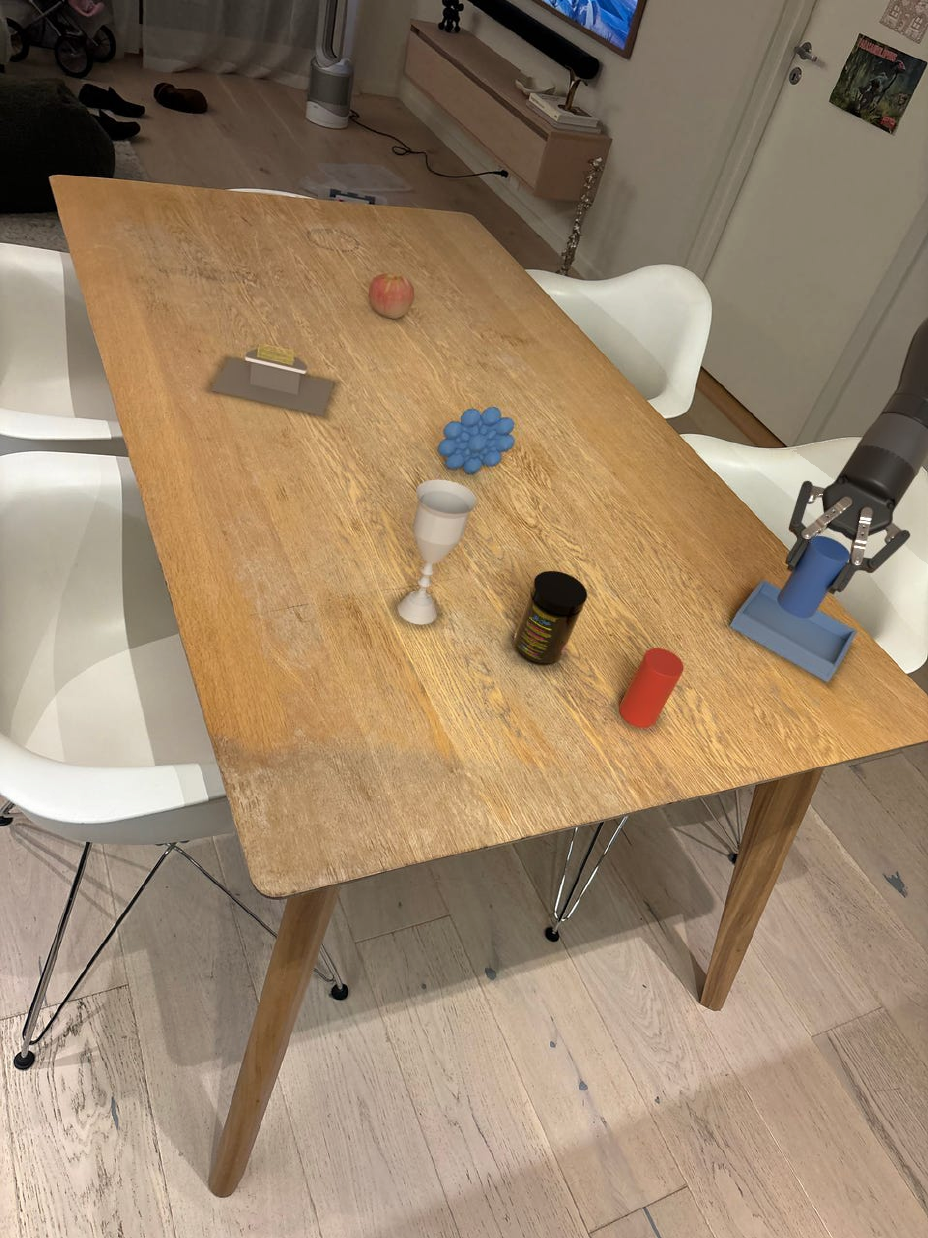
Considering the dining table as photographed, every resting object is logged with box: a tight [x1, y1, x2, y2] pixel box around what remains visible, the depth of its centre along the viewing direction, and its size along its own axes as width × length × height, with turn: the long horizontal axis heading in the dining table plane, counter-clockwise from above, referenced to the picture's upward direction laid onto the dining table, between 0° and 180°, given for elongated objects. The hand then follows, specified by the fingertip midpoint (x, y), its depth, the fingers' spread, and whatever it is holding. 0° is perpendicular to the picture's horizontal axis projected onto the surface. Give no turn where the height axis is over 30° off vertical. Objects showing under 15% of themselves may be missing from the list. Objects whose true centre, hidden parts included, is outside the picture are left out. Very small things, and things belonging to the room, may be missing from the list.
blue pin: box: [777, 535, 850, 618], centre depth 110 cm, size 5×5×9 cm
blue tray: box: [729, 578, 858, 684], centre depth 132 cm, size 15×11×3 cm
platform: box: [210, 343, 335, 417], centre depth 150 cm, size 12×18×7 cm, turn 87°
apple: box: [368, 272, 415, 320], centre depth 181 cm, size 9×9×8 cm
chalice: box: [397, 479, 478, 625], centre depth 112 cm, size 7×7×18 cm
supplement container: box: [512, 570, 588, 667], centre depth 114 cm, size 7×7×10 cm
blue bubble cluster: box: [437, 406, 515, 475], centre depth 143 cm, size 12×7×12 cm, turn 96°
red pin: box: [618, 647, 685, 729], centre depth 110 cm, size 5×5×9 cm
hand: (811, 579), depth 109 cm, fingers closed on blue pin, 4 cm apart
